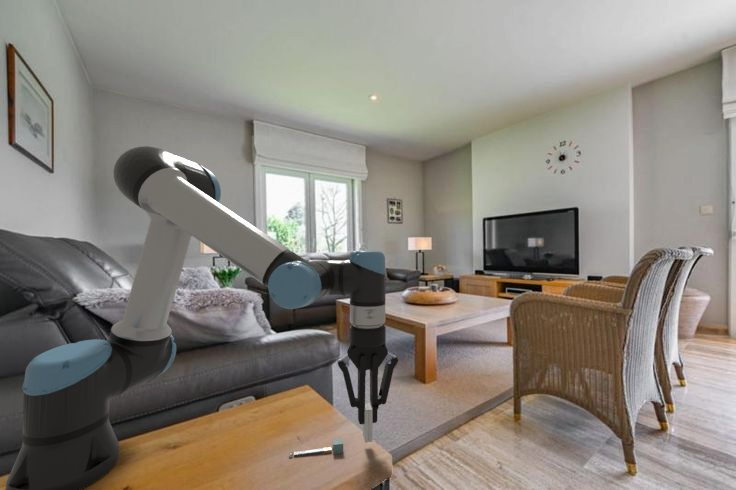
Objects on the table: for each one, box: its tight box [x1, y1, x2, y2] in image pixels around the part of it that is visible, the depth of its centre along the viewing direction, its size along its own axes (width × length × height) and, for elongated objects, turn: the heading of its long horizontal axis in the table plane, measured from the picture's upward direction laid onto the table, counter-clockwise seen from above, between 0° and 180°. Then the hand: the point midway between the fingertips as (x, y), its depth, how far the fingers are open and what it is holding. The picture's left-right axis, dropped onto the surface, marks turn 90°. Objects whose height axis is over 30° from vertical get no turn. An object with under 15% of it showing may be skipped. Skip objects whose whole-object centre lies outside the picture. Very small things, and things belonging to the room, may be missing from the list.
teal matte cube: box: [332, 438, 344, 455], centre depth 62 cm, size 2×2×3 cm
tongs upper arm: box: [288, 446, 333, 459], centre depth 61 cm, size 8×1×1 cm, turn 100°
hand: (367, 438), depth 64 cm, fingers closed
